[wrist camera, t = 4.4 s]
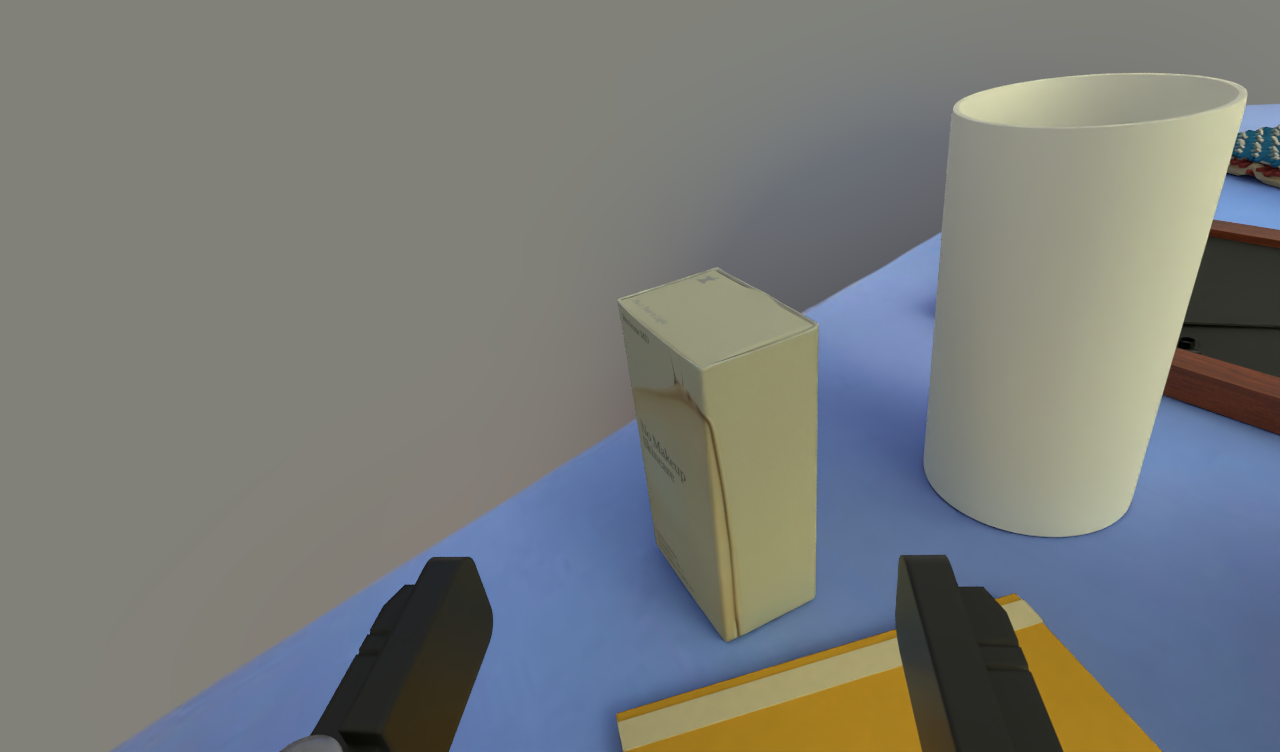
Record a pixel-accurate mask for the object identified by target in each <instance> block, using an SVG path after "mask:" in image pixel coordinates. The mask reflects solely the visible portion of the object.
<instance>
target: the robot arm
mask: <svg viewBox="0 0 1280 752" xmlns="http://www.w3.org/2000/svg"><path fill="white" fill-rule="evenodd" d="M895 621H896V634H897V641H898V647H899V652H900V656H901V661H902V665H903V670H904V674H905V678H906V683H907V687H908V692H909V696H910V700H911V705H912V709H913V714H914V718H915V722H916V727H917V731H918V736H919V740H920V744H921V749H922V752H1064V751H1063V749H1062V747H1061V744H1060V742H1059V739H1058V737H1057V734H1056V732H1055V729H1054V727H1053V724H1052V722H1051V720H1050V717H1049V715H1048V712H1047V710H1046V707H1045V705H1044V702H1043V700H1042V697H1041V695H1040V693H1039V690H1038V688H1037V685H1036V683H1035V680H1034V678H1033V675H1032V673H1031V672H1030V671H1029V668H1028V663H1027V661H1026V658H1025V656H1024V653H1023V651H1022V648H1021V647H1019V641H1018V638H1017V636H1016V634H1015V631H1014V629H1013V626H1012V624H1011V621H1010V619H1009V616H1008V614H1007V612H1006V611H1005V610H1004V609H1003V607H1002V606H1001V605H1000V604H999V603H998V602H997V601H996V600H995V599H994V598H993V597H992V596H991V595H990V594H989V592H988V591H987V590H986V589H985V588H984V587H958V584H957V582H956V579H955V576H954V573H953V570H952V567H951V564H950V562H949V559H948V558H947V556H946V555H901V556H900V558H899V566H898V581H897V596H896V611H895ZM492 629H493V613H492V609H491V605H490V603H489V600H488V597H487V595H486V592H485V589H484V587H483V584H482V581H481V579H480V576H479V573H478V571H477V568H476V565H475V563H474V561H473V559H472V558H470V557H433V558H431V559H430V560H429V561H428V562H427V563H426V565H425V567H424V568H423V570H422V572H421V574H420V576H419V578H418V580H417V582H416V583H415V585H404V586H403V587H402V588H401V589H400V590H399V591H398V592H397V593H396V594H395V595H394V596H393V597H392V598H391V599H390V600H389V601H388V602H387V603H386V604H385V605H384V606H383V608H382V609H381V611H380V613H379V615H378V617H377V618H376V620H375V622H374V624H373V626H372V627H371V629H370V634H369V635H367V636H366V638H365V640H364V642H363V643H362V645H361V647H360V649H359V654H358V655H356V656H355V658H354V659H353V661H352V663H351V665H350V666H349V668H348V670H347V672H346V674H345V675H344V677H343V679H342V681H341V683H340V684H339V686H338V688H337V690H336V691H335V693H334V695H333V697H332V699H331V700H330V702H329V704H328V706H327V707H326V709H325V711H324V713H323V715H322V716H321V718H320V720H319V722H318V724H317V725H316V727H315V729H314V730H313V732H312V733H311V735H310V736H308V737H304V738H302V739H299V740H297V741H295V742H293V743H292V744H290V745H288V746H287V747H285V748H284V749H283V750H281V751H280V752H449V749H450V747H451V744H452V741H453V739H454V736H455V733H456V731H457V728H458V725H459V723H460V720H461V717H462V715H463V712H464V709H465V707H466V704H467V701H468V699H469V696H470V693H471V691H472V688H473V685H474V683H475V680H476V677H477V675H478V672H479V669H480V667H481V664H482V661H483V659H484V656H485V653H486V651H487V648H488V645H489V643H490V639H491V635H492Z"/></svg>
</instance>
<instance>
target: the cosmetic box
mask: <svg viewBox="0 0 1280 752" xmlns="http://www.w3.org/2000/svg"><path fill="white" fill-rule="evenodd" d="M618 307H619V312H620V318H621V323H622V329H623V335H624V341H625V347H626V353H627V359H628V367H629V373H630V379H631V385H632V391H633V397H634V403H635V410H636V416H637V423H638V429H639V435H640V442H641V448H642V454H643V461H644V467H645V474H646V480H647V487H648V493H649V499H650V506H651V512H652V519H653V525H654V532H655V538H656V543H657V546H658V547H659V549H660V550H661V552H662V553H663V555H664V556H665V558H666V559H667V561H668V562H669V564H670V565H671V567H672V568H673V569H674V571H675V572H676V574H677V575H678V577H679V578H680V580H681V581H682V582H683V584H684V585H685V587H686V588H687V590H688V591H689V592H690V594H691V595H692V597H693V598H694V600H695V601H696V602H697V604H698V605H699V607H700V608H701V609H702V611H703V612H704V614H705V615H706V616H707V618H708V619H709V621H710V622H711V623H712V625H713V626H714V627H715V629H716V630H717V632H718V633H719V634H720V636H721V637H722V638H723V639H724V641H726V642H730V641H732V640H734V639H736V638H737V637H740V636H742V635H744V634H746V633H748V632H750V631H752V630H754V629H756V628H758V627H760V626H762V625H764V624H766V623H768V622H770V621H772V620H773V619H775V618H777V617H779V616H781V615H783V614H785V613H787V612H789V611H791V610H793V609H795V608H797V607H799V606H801V605H803V604H805V603H807V602H808V601H810V600H812V599H813V598H814V597H815V589H816V495H817V398H818V323H817V322H815V321H813V320H811V319H809V318H808V317H806V316H804V315H802V314H801V313H799V312H797V311H795V310H793V309H792V308H790V307H788V306H786V305H784V304H783V303H781V302H779V301H778V300H776V299H775V298H773V297H771V296H770V295H768V294H766V293H764V292H762V291H760V290H759V289H756V288H754V287H752V286H750V285H748V284H746V283H745V282H742V281H741V280H739V279H737V278H735V277H734V276H732V275H730V274H728V273H726V272H724V271H723V270H721V269H719V268H717V267H716V268H713V269H710V270H707V271H705V272H701V273H698V274H695V275H692V276H689V277H685V278H683V279H679V280H676V281H673V282H670V283H667V284H664V285H660V286H658V287H654V288H651V289H647V290H645V291H642V292H639V293H636V294H633V295H629V296H626V297H623V298H620V299H618Z"/></svg>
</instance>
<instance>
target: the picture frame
mask: <svg viewBox="0 0 1280 752" xmlns="http://www.w3.org/2000/svg"><path fill="white" fill-rule="evenodd" d="M1163 395H1166V396H1169V397H1172V398H1174V399H1177V400H1180V401H1183V402H1186V403H1189V404H1192V405H1195V406H1198V407H1201V408H1204V409H1206V410H1209V411H1212V412H1215V413H1218V414H1221V415H1224V416H1227V417H1230V418H1233V419H1236V420H1239V421H1241V422H1244V423H1247V424H1250V425H1253V426H1256V427H1259V428H1262V429H1265V430H1268V431H1271V432H1273V433H1276V434H1279V435H1280V230H1276V229H1270V228H1264V227H1257V226H1251V225H1245V224H1238V223H1232V222H1225V221H1219V220H1213V221H1212V225H1211V228H1210V232H1209V235H1208V239H1207V242H1206V246H1205V249H1204V253H1203V256H1202V259H1201V263H1200V266H1199V270H1198V273H1197V277H1196V280H1195V284H1194V287H1193V291H1192V294H1191V297H1190V301H1189V304H1188V308H1187V311H1186V315H1185V318H1184V322H1183V325H1182V329H1181V332H1180V336H1179V339H1178V342H1177V346H1176V349H1175V353H1174V356H1173V360H1172V363H1171V367H1170V370H1169V374H1168V377H1167V381H1166V384H1165V387H1164V391H1163Z"/></svg>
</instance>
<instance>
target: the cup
mask: <svg viewBox="0 0 1280 752" xmlns="http://www.w3.org/2000/svg"><path fill="white" fill-rule="evenodd" d="M1246 99H1247V90H1246V89H1245V88H1244V87H1243V86H1241V85H1239V84H1237V83H1234V82H1231V81H1227V80H1222V79H1218V78H1212V77H1205V76H1196V75H1183V74H1165V73H1164V74H1163V73H1115V74H1096V75H1080V76H1068V77H1059V78H1050V79H1042V80H1035V81H1029V82H1022V83H1016V84H1011V85H1006V86H1001V87H997V88H992V89H988V90H985V91H981V92H978V93H975V94H972V95H970V96H968V97H965V98H963V99H961V100H960V101H958V102H957V103H956V104H955V105H954V107H953V112H952V117H951V126H950V138H949V150H948V162H947V174H946V186H945V199H944V212H943V224H942V236H941V249H940V261H939V274H938V286H937V299H936V311H935V324H934V336H933V349H932V361H931V374H930V386H929V399H928V411H927V424H926V436H925V449H924V470H925V474H926V476H927V479H928V481H929V482H930V484H931V486H932V487H933V488H934V490H935V491H936V492H937V493H938V494H939V495H940V496H941V497H942V498H943V499H944V500H945V501H946V502H948V503H949V504H950V505H951V506H953V507H954V508H956V509H957V510H959V511H960V512H962V513H964V514H966V515H967V516H969V517H971V518H973V519H975V520H977V521H980V522H982V523H985V524H987V525H990V526H993V527H996V528H999V529H1002V530H1006V531H1010V532H1014V533H1019V534H1025V535H1031V536H1041V537H1069V536H1078V535H1083V534H1088V533H1092V532H1095V531H1098V530H1101V529H1104V528H1106V527H1108V526H1110V525H1112V524H1113V523H1115V522H1116V521H1118V520H1119V519H1120V518H1121V517H1122V516H1123V515H1124V514H1125V513H1126V511H1127V510H1128V508H1129V506H1130V504H1131V501H1132V498H1133V495H1134V491H1135V488H1136V484H1137V481H1138V477H1139V474H1140V470H1141V467H1142V464H1143V460H1144V457H1145V453H1146V450H1147V446H1148V443H1149V439H1150V436H1151V432H1152V429H1153V426H1154V422H1155V419H1156V415H1157V412H1158V408H1159V405H1160V401H1161V398H1162V394H1163V391H1164V387H1165V384H1166V381H1167V377H1168V374H1169V370H1170V367H1171V363H1172V360H1173V356H1174V353H1175V349H1176V346H1177V342H1178V339H1179V336H1180V332H1181V329H1182V325H1183V322H1184V318H1185V315H1186V311H1187V308H1188V304H1189V301H1190V297H1191V294H1192V291H1193V287H1194V284H1195V280H1196V277H1197V273H1198V270H1199V266H1200V263H1201V259H1202V256H1203V253H1204V249H1205V246H1206V242H1207V239H1208V235H1209V232H1210V228H1211V225H1212V221H1213V218H1214V214H1215V211H1216V208H1217V204H1218V201H1219V197H1220V194H1221V190H1222V187H1223V183H1224V180H1225V176H1226V173H1227V169H1228V166H1229V162H1230V159H1231V155H1232V152H1233V148H1234V145H1235V141H1236V138H1237V134H1238V131H1239V127H1240V124H1241V120H1242V117H1243V113H1244V110H1245V106H1246Z"/></svg>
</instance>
